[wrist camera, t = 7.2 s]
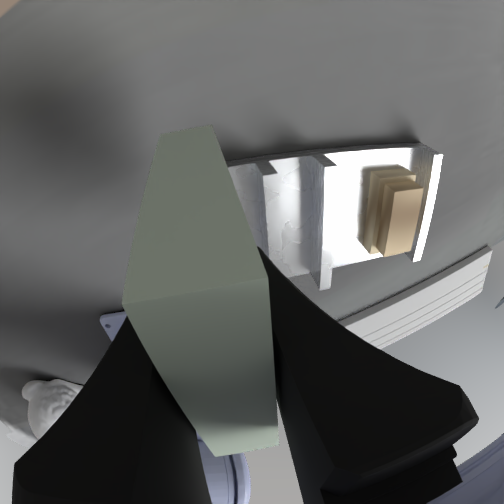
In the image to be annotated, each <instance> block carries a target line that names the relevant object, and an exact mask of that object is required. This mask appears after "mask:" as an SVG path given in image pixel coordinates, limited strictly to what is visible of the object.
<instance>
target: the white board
mask: <svg viewBox="0 0 504 504" xmlns="http://www.w3.org/2000/svg"><path fill="white" fill-rule="evenodd" d="M491 254H492V249H491V248H490V247H489V246H487V247H485V248H483V249H482V250H480V251H478V252H476V253H475V254H473V255H471V256H470V257H468V258H466V259H464V260H463V261H461V262H459V263H457V264H455V265H454V266H452V267H450V268H448V269H446V270H444V271H443V272H441V273H439V274H437V275H435V276H433V277H431V278H429V279H427V280H425V281H424V282H422V283H420V284H418V285H416V286H414V287H412V288H410V289H408V290H406V291H404V292H402V293H400V294H398V295H396V296H394V297H391V298H389V299H387V300H385V301H383V302H381V303H379V304H377V305H375V306H372V307H370V308H368V309H366V310H364V311H361V312H359V313H357V314H355V315H352V316H350V317H348V318H346V319H343V320H341V321H339V322H338V323H340V324H341V325H342V326H344V327H345V328H347V329H348V330H349V331H351V332H352V333H354V334H356V335H357V336H359V337H360V338H362V339H363V340H365V341H366V342H368V343H370V344H371V345H373V346H375V347H377V348H378V349H381V348H384V347H386V346H388V345H390V344H392V343H394V342H396V341H398V340H400V339H402V338H404V337H405V336H407V335H409V334H411V333H413V332H415V331H417V330H419V329H421V328H422V327H424V326H426V325H428V324H430V323H432V322H433V321H435V320H437V319H439V318H440V317H442V316H444V315H445V314H447V313H449V312H451V311H452V310H454V309H456V308H457V307H459V306H460V305H462V304H464V303H465V302H467V301H469V300H470V299H472V298H473V297H475V296H476V295H478V294H479V293H480V292H481V291H482V288H483V283H484V281H485V276H486V273H487V268H488V264H489V262H490V258H491Z"/></svg>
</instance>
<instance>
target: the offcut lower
mask: <svg viewBox="0 0 504 504" xmlns="http://www.w3.org/2000/svg"><path fill="white" fill-rule="evenodd" d="M415 180H416V174H414V173H413V172H411V171H410V170H408V169H407V168H400V169H390V170H379V171H371V175H370V186H369V197H368V207H367V216H366V224H365V232H364V240H363V247H364V248H365V249H366V251H367V252H368V253H369V255H373V254H377V253H380V252H379V251H378V250H377V248H376V243H377V237H378V231H379V224H380V217H381V210H382V202H383V194H384V186H385V184H387V183H395V182H404V181H415Z"/></svg>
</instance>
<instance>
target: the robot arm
mask: <svg viewBox="0 0 504 504" xmlns="http://www.w3.org/2000/svg"><path fill="white" fill-rule="evenodd" d="M257 248H258V251H259V254H260V257H261V259H262V262H263V265H264V268H265V270H266V273H267V276H268V284H269V297H270V311H271V325H272V340H273V354H274V369H275V385H276V398H277V402H278V406H279V409H280V413H281V417H282V421H283V425H284V428H285V432H286V436H287V440H288V444H289V447H290V451H291V455H292V459H293V463H294V466H295V471H296V474H297V478H298V482H299V486H300V490H301V494H302V498H303V502H304V504H504V433H503V434H502V435H501V436H500V437H499V438H498V439H496V440H495V441H494V442H492V443H491V444H490V445H489V446H487V447H486V448H484V449H483V450H482V451H480V452H479V453H477V454H476V455H474V456H473V457H471V458H470V459H468V460H467V461H465V462H464V463H462V464H460V465H459V466H457V467H456V465H455V463H454V461H453V459H454V458H455V457H456V456H457V453H456V451H455V449H454V447H453V444H454V443H455V442H457V441H458V440H459V439H460V438H462V437H463V436H464V435H465V434H467V433H468V432H469V431H470V430H471V429H472V428H473V427H475V426H476V424H477V423H478V420H479V417H478V416H477V414H476V412H475V410H474V408H473V406H472V404H471V402H470V400H469V398H468V397H467V396H466V394H465V393H464V391H463V390H462V389H461V387H460V386H459V385H456V384H454V383H451V382H448V381H446V380H443V379H441V378H438V377H436V376H433V375H430V374H428V373H425V372H423V371H420V370H418V369H416V368H414V367H412V366H410V365H408V364H406V363H404V362H402V361H400V360H398V359H396V358H394V357H392V356H391V355H389V354H387V353H385V352H384V351H382V350H380V349H378V348H377V347H375V346H373V345H371V344H370V343H368V342H366V341H365V340H363V339H362V338H360V337H359V336H357V335H356V334H354V333H352V332H351V331H349V330H348V329H347V328H345V327H344V326H342V325H341V324H340V323H338V322H337V321H336V320H334V319H333V318H332V317H330V316H329V315H328V314H327V313H325V312H324V311H323V310H322V309H320V308H319V307H318V306H317V305H316V304H314V303H313V302H312V301H311V300H310V299H309V298H308V297H306V296H305V295H304V294H303V293H302V292H301V291H300V290H299V289H298V288H297V287H296V286H295V285H294V284H293V283H292V282H291V281H290V280H289V279H288V278H287V277H286V276H285V275H284V274H283V273H282V272H281V271H280V270H279V269H278V268H277V267H276V266H275V265H274V263H273V262H272V261H271V260H270V259H269V258H268V256H267V255H266V254H265V253H264V251H263V250H262V249H261V248H260V247H258V246H257ZM100 323H101V325H102V326H103V328H104V330H105V331H106V333H107V335H108V336H109V338H110V339H111V341H112V343H111V345H110V347H109V348H108V350H107V352H106V353H105V355H104V357H103V358H102V360H101V361H100V363H99V364H98V366H97V368H96V369H95V371H94V372H93V374H92V375H91V377H90V378H89V379H88V381H87V382H86V384H85V385H84V386H83V388H82V389H81V390H80V392H79V393H78V394H77V396H76V397H75V398H74V400H73V401H72V402H71V404H70V405H69V406H68V407H67V409H66V410H65V411H64V412H63V413H62V415H61V416H60V417H59V418H58V419H57V421H56V422H55V423H54V424H53V425H52V426H51V427H50V428H49V429H48V431H47V432H46V433H45V434H44V435H43V436H42V437H41V438H40V439H39V440H38V441H37V442H36V443H35V444H34V445H33V446H32V447H31V448H30V449H29V450H28V451H27V452H26V453H25V454H24V455H23V456H22V457H21V458H20V459H19V460H18V461H17V462H15V464H14V474H13V490H12V504H248V503H249V500H250V494H251V481H250V473H249V468H248V464H247V461H246V457H245V455H244V453H237V454H231V455H225V456H218V457H215V456H214V455H213V453H212V452H211V451H210V449H209V448H208V446H207V445H206V444H205V442H204V441H203V440H202V438H201V437H200V435H199V434H198V433H197V431H196V430H195V428H194V427H193V425H192V424H191V422H190V421H189V419H188V418H187V417H186V415H185V414H184V412H183V411H182V409H181V407H180V406H179V404H178V403H177V401H176V400H175V398H174V397H173V395H172V393H171V392H170V390H169V389H168V387H167V385H166V384H165V382H164V381H163V379H162V377H161V376H160V374H159V372H158V371H157V369H156V367H155V365H154V364H153V362H152V360H151V359H150V357H149V355H148V353H147V352H146V350H145V348H144V346H143V344H142V343H141V341H140V339H139V337H138V335H137V333H136V331H135V330H134V328H133V326H132V324H131V322H130V320H129V318H128V316H127V314H126V312H125V311H124V312H118V313H112V314H105V315H102V316H101V317H100ZM108 324H109V325H108Z"/></svg>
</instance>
